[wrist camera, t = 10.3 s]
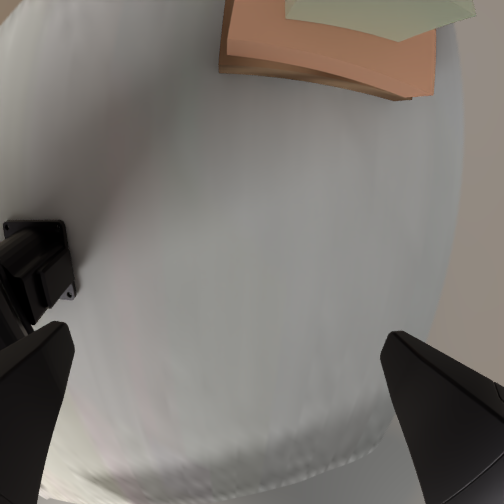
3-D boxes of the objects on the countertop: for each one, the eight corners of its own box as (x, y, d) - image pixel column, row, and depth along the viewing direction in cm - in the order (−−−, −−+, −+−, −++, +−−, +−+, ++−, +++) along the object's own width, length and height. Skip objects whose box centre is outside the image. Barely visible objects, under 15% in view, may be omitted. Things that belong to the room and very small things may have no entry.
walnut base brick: (219, 75, 16) (218, 64, 13) (235, -58, 12) (237, -79, 9) (389, 101, 18) (412, 99, 15) (387, -25, 13) (406, -38, 10)
